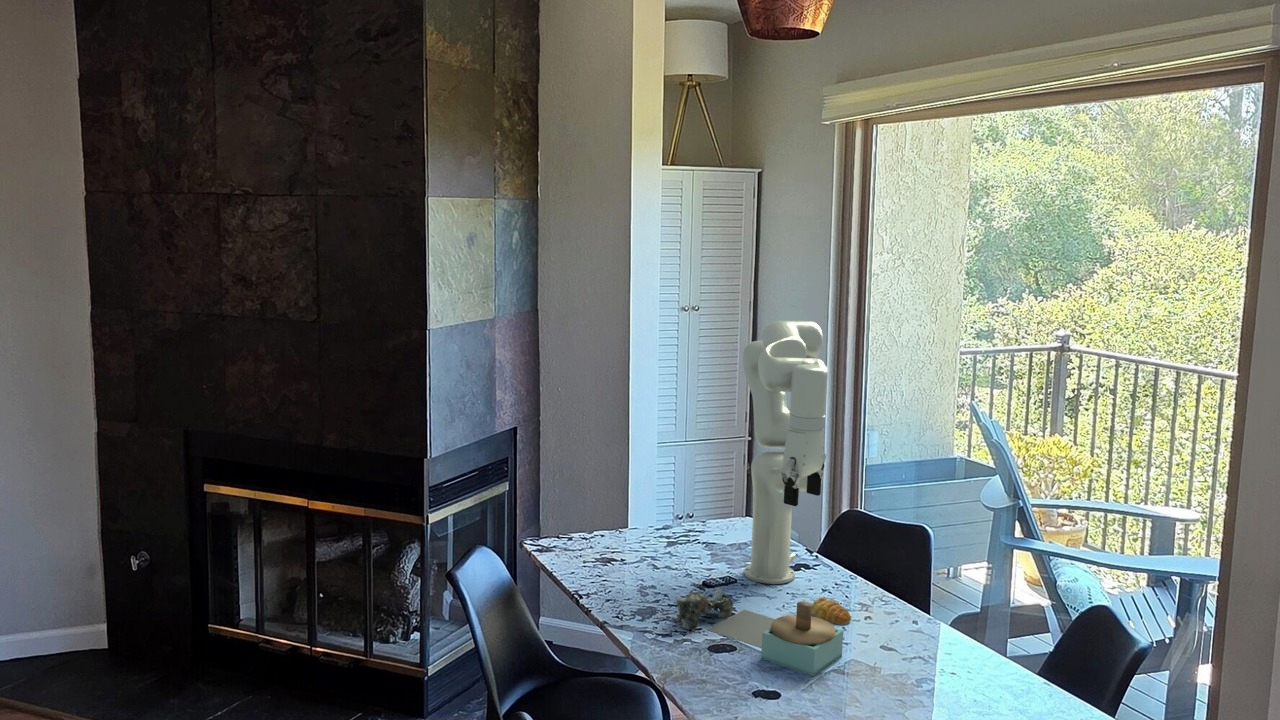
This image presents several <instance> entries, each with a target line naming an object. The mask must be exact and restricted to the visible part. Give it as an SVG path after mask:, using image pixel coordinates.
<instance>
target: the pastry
mask: <svg viewBox="0 0 1280 720" xmlns="http://www.w3.org/2000/svg"><path fill="white" fill-rule="evenodd" d="M811 604H812V613H811V616H812V617H817V618H820V619H823V620H825V621H827V622H829V623H831V624H832V623H833V624H836V625H843V626H845V625H847V624H850V622H851V620H852V616H851V614H850V613H849V611H848V610H847V609H846V608H845V607H844V606H842V605H841V603H839V602H836V601H835V600H833V599H827V598H826V597H819V598H817V599H816V600H815V601H814V602H813V603H811Z"/></svg>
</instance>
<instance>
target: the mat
mask: <svg viewBox="0 0 1280 720" xmlns="http://www.w3.org/2000/svg"><path fill="white" fill-rule="evenodd" d="M775 619H776V618H774V617H770V616H766V615H763V614H760V613H758V612H754V611H751V610H747V609H743V610H740V611H739V612H737V613H735V614H732V615H731V616H730V617H727V618H726V619H724V620H722V621H720V622H718V623H717V624H715V625H713V626H711V627H709V628H707V629H706V630H707V631H709V632H712V633H715V634H718V635H721V636H724V637H727V638H730V639H733V640H736V641H738V642H741V643H744V644H748V645H751V646H754V647H757V648H760V649H762V633H763V632H764V631H766V630H768V629H769V628H771V623H772V622H773V621H774V620H775Z"/></svg>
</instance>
